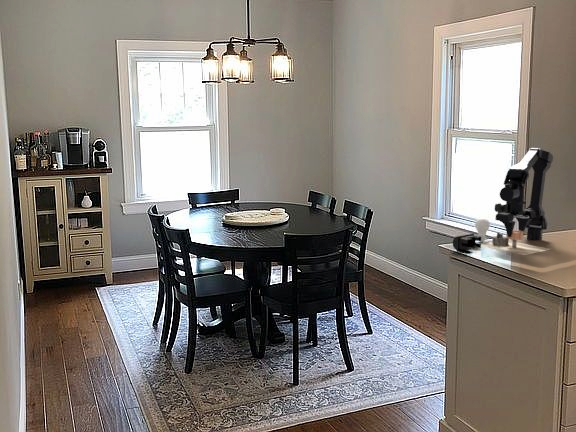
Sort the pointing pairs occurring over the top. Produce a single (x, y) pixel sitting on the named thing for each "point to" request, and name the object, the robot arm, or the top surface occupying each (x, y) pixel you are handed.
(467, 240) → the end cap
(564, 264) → the top surface
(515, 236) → the loose gear
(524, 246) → the gear board
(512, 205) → the robot arm
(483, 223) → the lightbulb
